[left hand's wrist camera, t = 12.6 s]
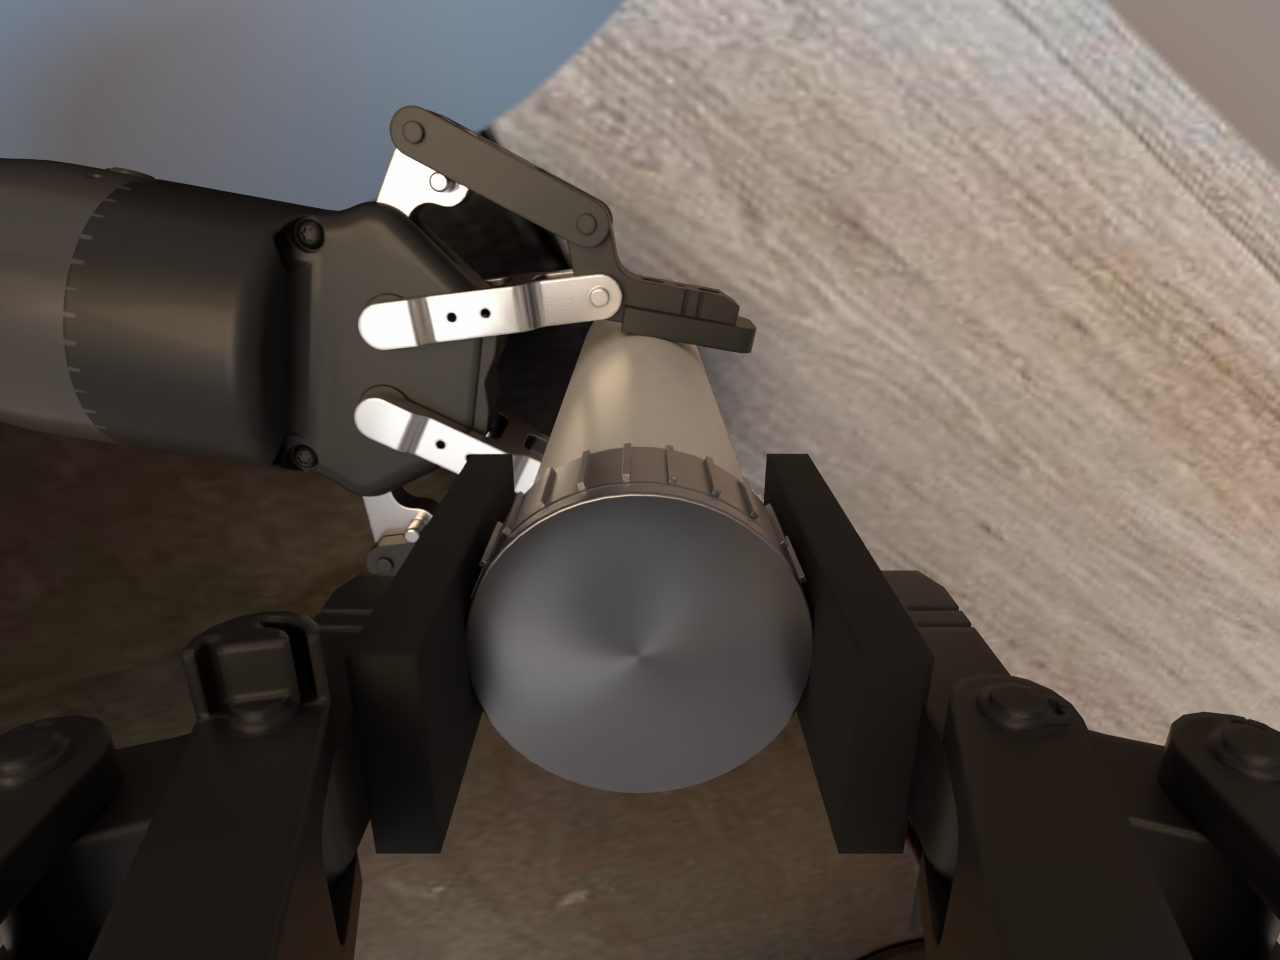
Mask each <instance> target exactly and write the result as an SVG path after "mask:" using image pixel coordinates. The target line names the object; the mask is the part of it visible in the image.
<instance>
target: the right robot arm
mask: <svg viewBox="0 0 1280 960" xmlns="http://www.w3.org/2000/svg"><path fill="white" fill-rule="evenodd" d="M390 136H391V139H392V142H393V144H394V145H395V147H396V150H395V152H394V155H393V158H392V160H391V163H390V166H389V169H388V171H387V174H386V177H385V180H384V182H383V185H382V188H381V191H380V193H379V196H378V199H377V201H376V202H365V203H361V204H358V205H356V206H353V207H351V208H348V209H345V210H341V211H334V210H326V209H320V208H314V207H309V206H303V205H298V204H292V203H287V202H281V201H276V200H270V199H265V198H259V197H254V196H248V195H243V194H237V193H232V192H226V191H221V190H215V189H210V188H204V187H199V186H194V185H188V184H183V183H177V182H171V181H166V180H160V179H159V180H158V179H155V178H154V177H152V176H149V175H146V174H143V173H140V172H136V171H132V170H128V169H123V168H112V169H110V168H108V169H106V170H105V169H99V168H94V167H88V166H82V165H77V164H71V163H64V162H57V161H50V160H35V159H6V158H0V421H1V422H4V423H8V424H11V425H15V426H18V427H22V428H26V429H30V430H35V431H40V432H45V433H50V434H56V435H63V436H69V437H75V438H82V439H88V440H94V441H101V442H107V443H113V444H120V445H126V446H131V447H137V448H143V449H149V450H156V451H162V452H168V453H176V454H182V455H188V456H194V457H200V458H206V459H212V460H219V461H225V462H231V463H237V464H243V465H249V466H255V467H262V468H268V469H276V470H289V471H306V472H313V473H317V474H319V475H322V476H325V477H327V478H329V479H331V480H332V481H334V482H336V483H337V484H339V485H340V486H341V487H343V488H344V489H346V490H347V491H349V492H351V493H354V494H356V495H360V496H363V500H364V503H365V507H366V511H367V514H368V518H369V521H370V525H371V529H372V532H373V536H374V540H375V545H374V546H373V547H372V549H371V550H370V551H369V553H368V554H367V556H366V560H365V563H366V568H367V570H368V572H369V573H397V572H398V571H399V569H400V567H401V566H402V564H403V563H404V561H405V559H406V558H407V556H408V555H409V553H410V551H411V550H412V548H413V547H414V545H415V543H416V542H417V540H418V539H419V537H420V535H421V534H422V532H423V531H424V529H425V527H426V526H427V524H428V523H429V521H430V519H431V518H432V516H433V515H434V513H435V511H436V510H437V508H438V507H439V505H440V504H439V503H438V502H436V501H435V500H433V499H430V498H426V497H415V496H413V495H411V494H409V493H408V492H406V491H405V490H404V488H403V487H402V486H403V485H405V484H407V483H409V482H412V481H414V480H416V479H418V478H420V477H422V476H424V475H426V474H428V473H430V472H432V471H434V470H437V469H439V468H441V467H443V468H446V469H448V470H450V471H452V472H454V473H457V474H459V473H460V472H461V470H462V468H463V467H464V465H465V464H466V462H467V460H468V459H469V457H470V456H471V455H470V454H512V456H513V472H514V488H515V492H516V493H519V492H520V491H521V492H523V493H524V494H525V493H526V492H527V491H528V490H529V489H530V488H531V487H532V486H533V483H534V481H535V478H536V475H537V472H538V469H539V467H540V464H541V461H542V458H543V455H544V453H545V450H546V447H547V444H548V441H549V439H550V437H549V436H547V435H545V434H543V433H541V432H539V431H537V430H536V429H535V428H534V427H533V426H532V424H530V423H529V422H528V421H526V420H525V419H523V418H521V417H519V416H517V415H514V414H512V413H510V412H508V411H506V410H504V409H502V408H500V407H499V404H500V396H501V391H500V384H499V378H498V372H497V365H498V363H499V360H500V358H501V355H502V353H503V350H504V348H505V345H506V343H507V334H511V333H519V332H526V331H530V330H534V329H537V328H540V327H545V326H553V325H562V324H570V323H578V322H587V321H595V320H608V321H613V322H619V323H622V328H621V332H623V333H629V334H635V335H641V336H648V337H655V338H659V339H663V340H669V341H675V342H681V343H686V344H692V345H698V346H703V347H709V348H715V349H721V350H726V351H732V352H738V353H751V350H752V345H753V341H754V337H755V332H756V327H755V326H754V324H753V323H752V322H751V321H750V320H749V319H746V318H743V317H739V316H738V311H739V307H740V306H739V305H738V304H737V303H736V302H735V300H734V299H732V298H731V297H729V296H727V295H726V294H724V293H723V292H721V291H720V290H718V289H712V288H707V287H701V286H695V285H690V284H684V283H679V282H673V281H668V280H662V279H656V278H651V277H645V276H640V275H636V274H634V273H631V272H630V271H628V270H627V269H626V268H625V267H624V266H623V265H622V263H621V262H620V260H619V257H618V254H617V249H616V244H615V238H614V233H613V227H612V224H613V218H612V213H611V211H610V209H609V207H608V206H607V205H606V204H605V203H604V202H603V201H601V200H599V199H597V198H596V197H594V196H592V195H590V194H588V193H586V192H584V191H583V190H581V189H579V188H577V187H575V186H573V185H571V184H570V183H568V182H566V181H564V180H562V179H560V178H558V177H557V176H555V175H553V174H551V173H549V172H547V171H545V170H544V169H542V168H540V167H538V166H536V165H534V164H532V163H531V162H529V161H527V160H525V159H523V158H521V157H519V156H518V155H516V154H514V153H512V152H510V151H508V150H506V149H505V148H503V147H501V146H499V145H497V144H495V143H494V142H492V141H490V140H488V139H486V138H484V137H482V136H481V135H479V134H477V133H475V132H473V131H471V130H469V129H468V128H466V127H464V126H462V125H460V124H458V123H456V122H455V121H453V120H451V119H449V118H447V117H445V116H443V115H440V114H437V113H435V112H432V111H430V110H427V109H423V108H421V107H417V106H406V107H403V108H401V109H399V110H398V111H397V112H396V113H395V114H394V116H393V118H392V120H391V123H390ZM474 192H476V193H477V194H479V195H481V196H483V197H485V198H487V199H489V200H491V201H493V202H495V203H496V204H498V205H500V206H502V207H504V208H506V209H508V210H510V211H512V212H514V213H516V214H517V215H519V216H521V217H523V218H525V219H527V220H529V221H531V222H533V223H535V224H536V225H538V226H540V227H542V228H544V229H546V230H548V231H550V232H552V233H554V234H555V235H557V236H559V237H561V238H563V239H565V240H567V243H568V248H569V253H570V258H571V263H572V268H573V269H568V270H560V271H551V272H531V273H523V274H515V275H507V276H498V277H490V278H481V277H480V276H479V275H478V274H477V273H476V272H475V271H474V270H473V269H472V268H471V267H470V266H469V265H468V264H467V263H466V262H465V261H464V260H463V259H462V258H461V257H460V256H459V255H458V254H456V253H455V252H454V251H453V250H452V249H451V248H450V247H449V246H448V245H447V244H446V243H445V242H444V241H443V240H442V239H441V238H440V237H439V236H438V235H437V234H436V233H435V232H434V231H433V230H432V229H431V228H430V227H429V226H428V225H427V224H426V223H425V222H424V221H423V220H422V219H421V218H420V217H419V216H418V214H419V212H420V211H421V209H422V208H423V207H424V206H426V205H427V204H429V203H435V204H438V205H441V206H458V205H462V204H464V203H466V202H467V201H468V200H469V199H470V198H471V197H472V195H473V193H474ZM492 426H493V427H492Z"/></svg>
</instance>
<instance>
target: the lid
mask: <svg viewBox="0 0 1280 960" xmlns="http://www.w3.org/2000/svg"><path fill="white" fill-rule="evenodd" d="M478 566H479V567H482V568H483V569H482V571H481V573H480V576H479V578H478V581H477V583H476V586H475V588H474V591H473V593H472V595H471V601H470V604H469V608H468V612H467V616H466V621H465V636H466V648H467V659H468V669H469V678H470V683H471V686H472V688H473V691H474V693H475V696H476V698H477V701H478V702H479V704H480V706H481V708H482V709H483V711H484V713H485V715H486V717H487V718H488V719H489V721H490V722H491V723H492V725H493V726H494V727H495V728H496V730H497V731H498V732H499V734H500V735H501V736H502V737H503V738H504V739H505V740H506V741H507V742H508V743H509V744H510V745H511V746H512V747H513V748H515V749H516V750H517V751H519V752H520V753H521V754H522V755H524V756H525V757H526V758H527V759H529V760H530V761H532V762H534V763H535V764H537V765H538V766H540V767H542V768H543V769H545V770H547V771H549V772H551V773H553V774H555V775H557V776H560V777H562V778H564V779H566V780H569V781H572V782H575V783H578V784H581V785H584V786H588V787H593V788H597V789H602V790H607V791H615V792H624V793H653V792H664V791H672V790H677V789H682V788H687V787H691V786H694V785H697V784H701V783H704V782H707V781H710V780H712V779H715V778H717V777H719V776H721V775H724V774H726V773H728V772H730V771H732V770H734V769H735V768H737V767H739V766H740V765H742V764H744V763H746V762H747V761H748V760H750V759H751V758H753V757H754V756H755V755H757V754H758V753H759V752H761V751H762V750H763V749H764V748H765V747H766V746H767V745H768V744H769V743H770V742H771V741H773V740H774V739H775V738H776V737H777V736H778V734H779V733H780V732H781V731H782V729H783V728H784V727H785V726H786V725H787V723H788V722H789V721H790V719H791V717H792V716H793V714H794V713H795V711H796V709H797V708H798V706H799V704H800V702H801V700H802V698H803V695H804V693H805V691H806V688H807V686H808V683H809V678H810V671H811V661H812V651H813V639H814V623H813V618H812V613H811V608H810V605H809V602H808V599H807V596H806V594H805V591H804V588H803V586H802V584H803V583H806V582H807V580H806V577H805V574H804V572H803V570H802V567H801V565H800V563H799V560H798V558H797V556H796V553H795V551H794V548H793V546H792V544H791V541H790V539H789V537H788V536H784V533H783V531H782V528H781V526H780V524H779V521H778V519H777V516H776V514H775V512H774V509H773V507H772V506H771V505H770V504H768V505H766V506H765V505H764V504H763V503H762V501H761V500H760V499H759V498H758V497H757V496H756V495H755V494H754V493H753V492H752V491H751V490H750V487H749V485H748V482H747V480H746V479H745V478H744V477H742V476H741V477H740V479H739V480H738V479H737V478H736V477H735V476H733V475H732V474H731V473H729V472H727V471H725V470H724V469H722V468H720V467H719V466H717V465H715V464H714V461H713V459H712V458H710V457H708V456H706V458H705V460H704V459H701V458H699V457H696V456H694V455H690V454H687V453H683V452H679V451H676V450H674V449H673V446H671V445H666V448H665V449H663V448H656V447H631V443H624V448H615V449H608V450H604V451H600V452H596V453H591V452H590V450H587V451H584V452H583V453H582V457H580V458H578V459H575V460H572V461H570V462H568V463H566V464H564V465H562V466H561V467H559V468H557V469H555V470H554V469H553V467H550V468H548V469H546V472H545V475H544V477H543V478H542V479H540V480H539V481H538V482H536V483H535V484H534V485H533V486H532V487H531V488H530V489H529V490H528V491H527V492H526V493H525V494H524V493H523V492H521V491H520V492H519V493H518V494H517V495H516V497H515V499H514V502H513V504H512V507H511V509H510V512H509V513H508V515H507V517H506V519H505V520H504V522H503V523H501V522H499V521H498V522H497V523H496V525H495V528H494V530H493V532H492V535H491V537H490V539H489V542H488V544H487V546H486V549H485V551H484V553H483V556H482V558H481V560H480V563H479V565H478Z"/></svg>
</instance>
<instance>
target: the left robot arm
mask: <svg viewBox="0 0 1280 960" xmlns="http://www.w3.org/2000/svg"><path fill="white" fill-rule="evenodd" d="M514 499H515V488H514V472H513V456H512V454H471V456H470V457H469V459H468V460H467V462H466V464H465V465H464V467H463V468H462V470H461V472H460V473H459V475H458V476H457V478H456V479H455V481H454V483H453V484H452V486H451V487H450V489H449V491H448V492H447V494H446V495H445V497H444V499H443V500H442V502H441V503H440V505H439V507H438V508H437V510H436V511H435V513H434V515H433V516H432V518H431V519H430V521H429V523H428V524H427V526H426V527H425V529H424V531H423V532H422V534H421V535H420V537H419V539H418V540H417V542H416V543H415V545H414V547H413V548H412V550H411V551H410V553H409V555H408V556H407V558H406V559H405V561H404V563H403V564H402V566H401V567H400V569H399V571H398V572H397V573H361V574H360V575H358V576H357V577H355V578H354V579H352V580H350V581H349V582H347V583H346V584H344V585H343V586H341V587H340V588H338V589H336V590H335V591H334V593H333V594H332V595H331V597H330V598H329V599H328V601H327V602H326V603H325V605H324V606H323V607H322V609H321V614H317V615H316V617H315V618H314V619H313V620H312V619H311V618H309V617H308V616H307V615H302V614H298V613H293V612H289V611H281V612H261V613H256V614H251V615H246V616H241V617H237V618H234V619H232V620H229V621H226V622H224V623H221V624H218V625H216V626H213V627H212V628H210V629H208V630H207V631H205V632H203V633H202V634H200V635H198V636H197V637H195V638H193V639H192V640H191V641H190V643H189V644H188V645H187V646H186V647H185V648H184V649H183V650H182V651H181V652H180V654H181V658H182V662H183V666H184V670H185V674H186V678H187V682H188V686H189V690H190V694H191V698H192V702H193V706H194V710H195V714H196V718H197V721H196V723H195V726H194V728H193V730H192V732H191V733H190V734H186V735H182V736H179V737H175V738H170V739H165V740H161V741H156V742H151V743H146V744H141V745H136V746H131V747H126V748H121V749H116V750H115V748H114V744H113V741H112V738H111V734H110V731H109V728H108V727H107V726H106V725H105V724H103V723H102V722H101V721H99V720H98V719H97V718H90V717H84V716H77V715H75V716H66V717H57V718H48V719H43V720H39V721H35V723H28V724H25V725H22V726H19V727H16V728H14V729H13V730H11V731H9V732H7V733H5V734H3V735H1V736H0V936H1V939H2V941H3V943H4V944H3V946H2V947H1V948H0V960H354V952H355V943H356V934H357V926H358V917H359V908H360V899H361V890H362V878H361V871H360V865H359V859H358V853H357V848H358V846H359V844H360V841H361V839H362V837H363V834H364V832H365V830H366V827H367V825H368V823H369V820H370V818H371V824H372V830H373V836H374V843H375V849H376V853H441V850H442V846H443V843H444V840H445V836H446V833H447V829H448V826H449V823H450V819H451V816H452V813H453V809H454V806H455V803H456V799H457V796H458V793H459V789H460V786H461V782H462V779H463V776H464V772H465V769H466V766H467V762H468V759H469V756H470V752H471V749H472V746H473V742H474V739H475V735H476V732H477V729H478V725H479V722H480V719H481V715H482V712H483V709H482V708H481V706H480V704H479V702H478V701H477V698H476V696H475V693H474V691H473V688H472V686H471V683H470V678H469V669H468V659H467V648H466V636H465V621H466V616H467V612H468V608H469V604H470V601H471V595H472V593H473V591H474V588H475V586H476V583H477V581H478V578H479V576H480V573H481V571H482V569H483V568H482V567H479V566H478V565H479V563H480V560H481V558H482V556H483V553H484V551H485V549H486V546H487V544H488V542H489V539H490V537H491V535H492V532H493V530H494V528H495V525H496V523H497V522H498V521H499V522H501V523H503V522H504V520H505V519H506V517H507V515H508V513H509V512H510V509H511V507H512V504H513V502H514ZM768 504H770V505H771V506H772V507H773V509H774V512H775V514H776V516H777V519H778V521H779V524H780V526H781V528H782V531H783V533H784V536H788V537H789V539H790V541H791V544H792V546H793V548H794V551H795V553H796V556H797V558H798V560H799V563H800V565H801V567H802V570H803V572H804V574H805V577H806V580H807V582H806V583H803V584H802V586H803V588H804V591H805V594H806V596H807V599H808V602H809V605H810V608H811V613H812V618H813V623H814V639H813V651H812V661H811V671H810V678H809V683H808V686H807V688H806V691H805V693H804V695H803V698H802V700H801V702H800V704H799V706H798V708H797V709H796V711H797V714H798V718H799V721H800V724H801V728H802V731H803V735H804V738H805V741H806V745H807V748H808V751H809V755H810V758H811V761H812V765H813V768H814V772H815V775H816V778H817V782H818V785H819V788H820V792H821V795H822V798H823V802H824V805H825V808H826V812H827V815H828V819H829V822H830V825H831V829H832V832H833V835H834V839H835V842H836V845H837V849H838V852H839V853H903V850H904V844H905V838H906V832H907V825H908V819H909V816H910V818H911V821H912V823H913V825H914V828H915V830H916V832H917V835H918V837H919V839H920V842H921V844H922V846H923V853H922V859H921V865H920V870H919V876H918V882H917V888H916V893H915V899H914V905H913V911H912V917H911V923H910V930H909V932H914V933H920V928H921V923H922V924H923V933H924V941H922V942H917V943H911V944H907V945H903V946H899V947H895V948H892V949H889V950H886V951H883V952H880V953H878V954H875V955H873V956H871V957H868V958H866V959H864V960H1280V944H1279V943H1278V942H1277V938H1278V936H1279V933H1280V732H1279V731H1277V730H1274V729H1272V728H1270V727H1269V726H1267V725H1265V724H1263V723H1260V722H1257V721H1254V720H1251V719H1249V720H1247V719H1245V718H1244V717H1240V716H1235V715H1228V714H1219V713H1210V712H1199V713H1193V714H1186V715H1182V716H1181V717H1180V718H1179V719H1177V720H1176V721H1175V722H1173V723H1172V724H1171V728H1170V731H1169V734H1168V738H1167V741H1166V744H1165V746H1161V745H1156V744H1151V743H1146V742H1141V741H1136V740H1131V739H1126V738H1121V737H1116V736H1111V735H1106V734H1102V733H1099V732H1095V731H1091V730H1088V729H1087V726H1086V724H1085V722H1084V720H1083V718H1082V717H1081V716H1080V714H1079V713H1078V712H1077V710H1076V709H1075V708H1074V707H1073V705H1072V704H1071V703H1070V702H1068V701H1067V700H1065V699H1064V698H1063V697H1061V696H1060V695H1058V694H1057V693H1055V692H1054V691H1053V690H1051V689H1049V688H1046V687H1044V686H1042V685H1039V684H1037V683H1035V682H1032V681H1030V680H1027V679H1023V678H1019V677H1014V676H1011V675H1010V674H1009V673H1008V671H1007V670H1006V669H1005V667H1004V666H1003V665H1002V663H1001V662H1000V661H999V659H998V658H997V657H996V656H995V654H994V653H993V652H992V650H991V649H990V648H989V646H988V645H987V644H986V642H985V641H984V640H983V638H982V637H981V636H980V634H979V633H978V632H977V630H976V629H975V628H974V627H971V622H970V621H969V620H968V619H967V617H966V616H965V615H964V613H963V612H962V611H959V607H958V605H957V604H956V603H955V601H954V600H953V599H952V597H951V596H950V595H949V593H948V592H947V591H946V589H945V588H944V587H943V586H941V585H939V584H938V583H936V582H935V581H933V580H932V579H930V578H928V577H927V576H925V575H924V574H922V573H920V572H919V571H881V570H880V569H879V567H878V565H877V564H876V562H875V561H874V559H873V557H872V556H871V554H870V553H869V551H868V549H867V548H866V546H865V545H864V543H863V541H862V540H861V538H860V537H859V535H858V533H857V532H856V530H855V529H854V527H853V525H852V524H851V522H850V521H849V519H848V517H847V516H846V514H845V513H844V511H843V509H842V508H841V506H840V505H839V503H838V501H837V500H836V498H835V497H834V495H833V493H832V492H831V490H830V489H829V487H828V486H827V484H826V482H825V481H824V479H823V478H822V476H821V474H820V473H819V471H818V470H817V468H816V466H815V465H814V463H813V462H812V460H811V458H810V457H809V455H808V454H767V460H766V476H765V492H764V505H765V506H766V505H768Z"/></svg>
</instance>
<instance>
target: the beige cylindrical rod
mask: <svg viewBox="0 0 1280 960" xmlns="http://www.w3.org/2000/svg"><path fill="white" fill-rule="evenodd" d="M621 328H622V323H619V322H613V321H608V320H595V321H594V322H593V324H592V325H591V327H590V329H589V331H588V333H587V335H586V338H585V341H584V344H583V346H582V349H581V352H580V355H579V358H578V360H577V363H576V366H575V369H574V372H573V374H572V377H571V380H570V383H569V386H568V388H567V391H566V394H565V397H564V399H563V402H562V405H561V408H560V411H559V413H558V416H557V419H556V422H555V425H554V427H553V430H552V433H551V436H550V439H549V441H548V444H547V447H546V450H545V453H544V455H543V458H542V461H541V464H540V467H539V469H538V472H537V475H536V478H535V481H534V483H533V485H534V484H535V483H536V482H538V481H539V480H540V479H542V478H543V477H544V475H545V472H546V469H548V468H550V467H553V469H554V470H555V469H557V468H559V467H561V466H562V465H564V464H566V463H568V462H570V461H572V460H575V459H578V458H580V457H582V453H583V452H584V451H587V450H590V452H591V453H596V452H600V451H604V450H608V449H615V448H624V443H631V447H656V448H663V449H665V448H666V445H671V446H673V449H674V450H676V451H679V452H683V453H687V454H690V455H694V456H696V457H699V458H701V459H704V460H705V458H706V456H708V457H710V458H712V459H713V461H714V464H715V465H717V466H719V467H720V468H722V469H724V470H725V471H727V472H729V473H731V474H732V475H733V476H735V477H736V478H737V479H738V480H739V479H740V477H741V476H742V477H743V475H742V472H741V470H740V467H739V464H738V461H737V458H736V456H735V453H734V450H733V447H732V444H731V442H730V439H729V436H728V433H727V430H726V428H725V425H724V422H723V419H722V416H721V414H720V411H719V408H718V405H717V402H716V400H715V397H714V394H713V391H712V388H711V386H710V383H709V380H708V377H707V374H706V371H705V369H704V366H703V363H702V360H701V357H700V355H699V352H698V349H697V346H696V345H692V344H686V343H681V342H675V341H669V340H663V339H659V338H655V337H648V336H641V335H635V334H629V333H623V332H621Z"/></svg>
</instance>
